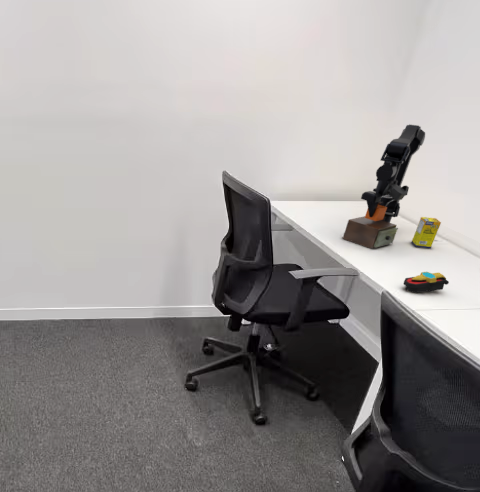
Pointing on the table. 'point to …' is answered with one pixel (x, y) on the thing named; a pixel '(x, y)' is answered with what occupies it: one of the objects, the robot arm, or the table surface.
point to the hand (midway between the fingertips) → (374, 216)
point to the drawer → (385, 237)
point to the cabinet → (365, 231)
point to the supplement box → (426, 232)
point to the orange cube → (377, 213)
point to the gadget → (425, 282)
